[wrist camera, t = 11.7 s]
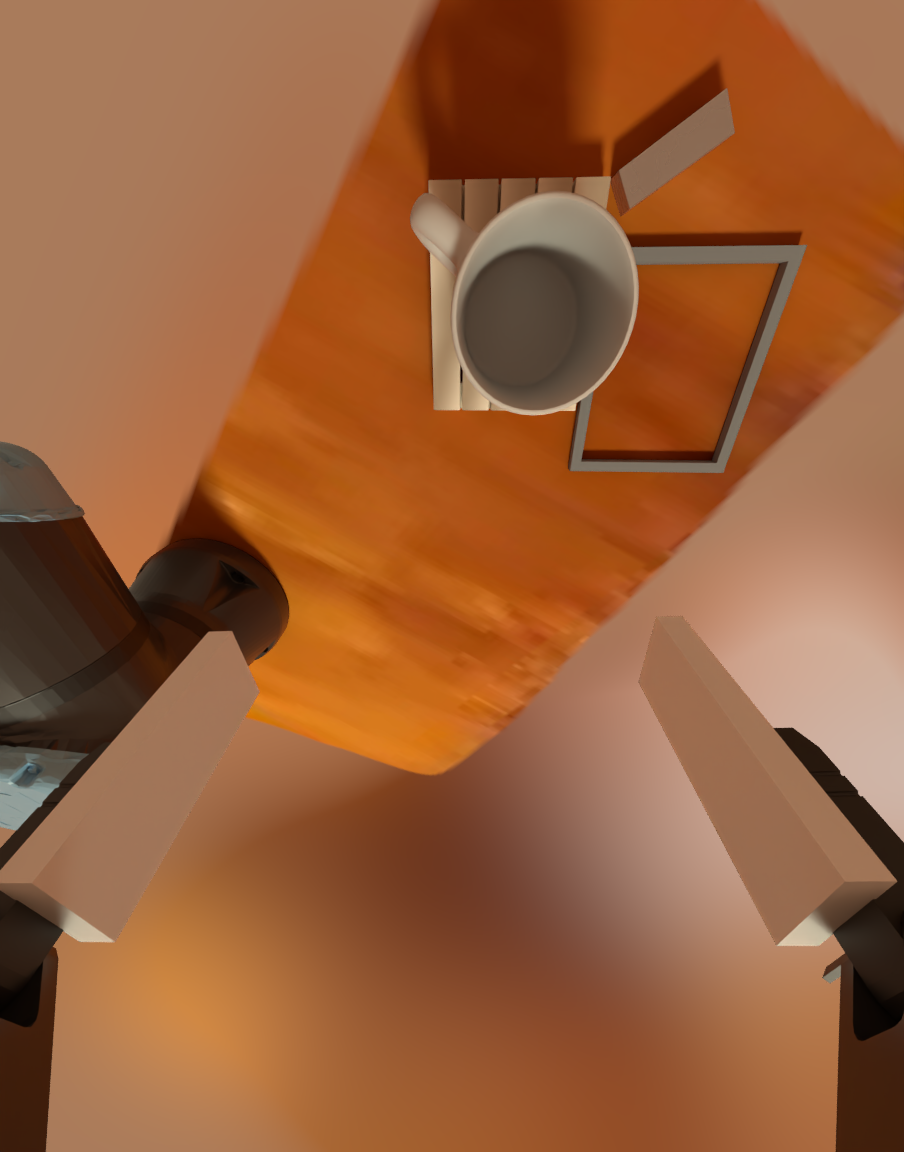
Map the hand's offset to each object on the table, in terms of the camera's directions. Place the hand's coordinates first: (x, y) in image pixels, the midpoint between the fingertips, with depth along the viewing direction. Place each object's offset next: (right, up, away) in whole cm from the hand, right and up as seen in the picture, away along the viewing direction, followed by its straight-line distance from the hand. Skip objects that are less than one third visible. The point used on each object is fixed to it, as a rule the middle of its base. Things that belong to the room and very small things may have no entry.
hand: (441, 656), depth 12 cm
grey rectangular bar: (+13, +28, +12) cm, 33 cm away
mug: (+4, +21, +14) cm, 25 cm away
